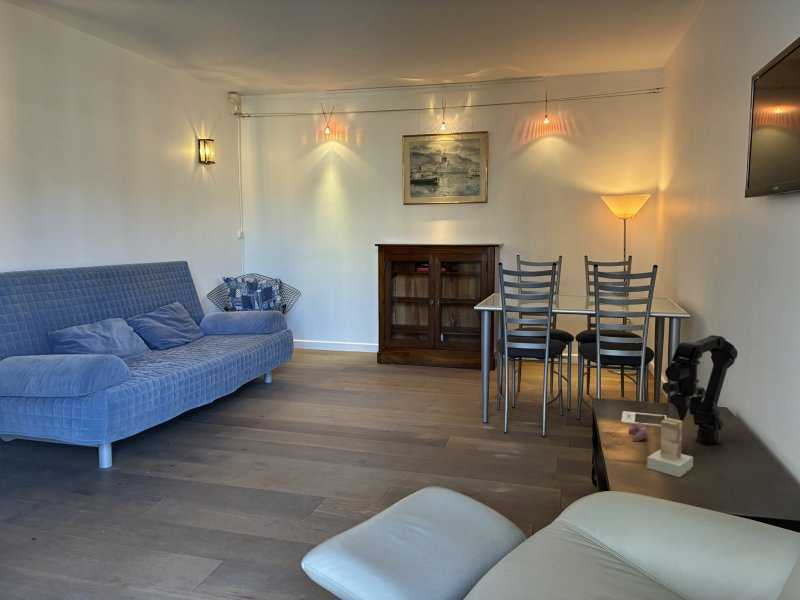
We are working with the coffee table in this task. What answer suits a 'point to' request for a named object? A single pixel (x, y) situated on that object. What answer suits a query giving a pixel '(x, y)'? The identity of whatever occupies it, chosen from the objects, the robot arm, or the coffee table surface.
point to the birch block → (671, 439)
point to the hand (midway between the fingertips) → (686, 417)
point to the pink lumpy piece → (639, 431)
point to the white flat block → (670, 464)
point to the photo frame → (630, 417)
